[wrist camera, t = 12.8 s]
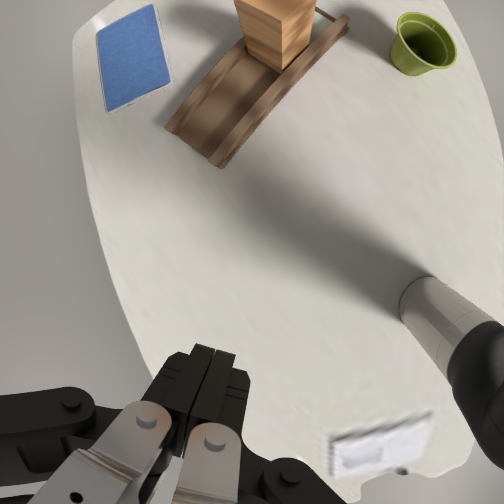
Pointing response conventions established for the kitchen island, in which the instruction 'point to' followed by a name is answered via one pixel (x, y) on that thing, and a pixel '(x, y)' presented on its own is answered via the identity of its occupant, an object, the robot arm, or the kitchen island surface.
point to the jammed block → (276, 29)
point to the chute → (245, 93)
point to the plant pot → (422, 45)
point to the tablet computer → (133, 59)
